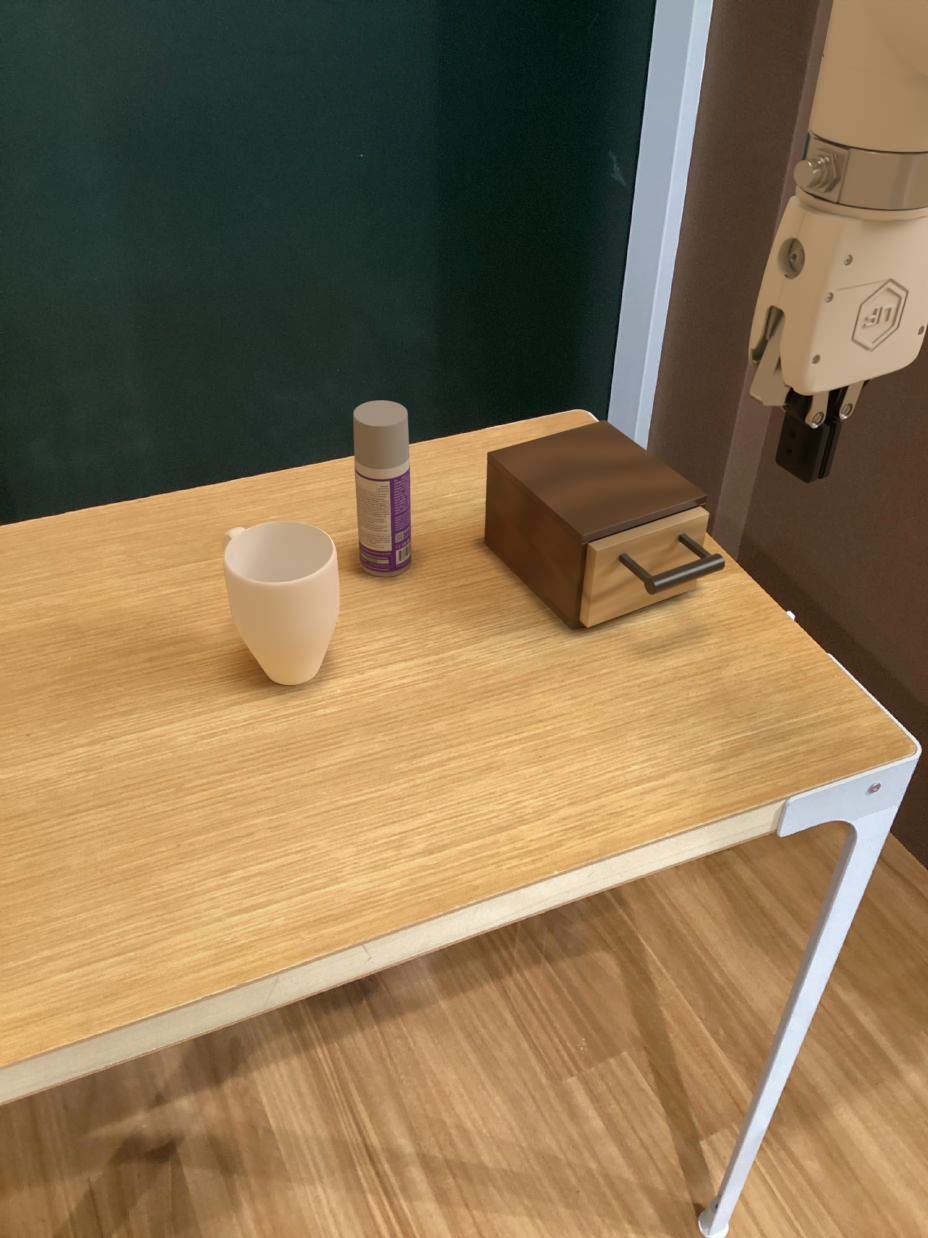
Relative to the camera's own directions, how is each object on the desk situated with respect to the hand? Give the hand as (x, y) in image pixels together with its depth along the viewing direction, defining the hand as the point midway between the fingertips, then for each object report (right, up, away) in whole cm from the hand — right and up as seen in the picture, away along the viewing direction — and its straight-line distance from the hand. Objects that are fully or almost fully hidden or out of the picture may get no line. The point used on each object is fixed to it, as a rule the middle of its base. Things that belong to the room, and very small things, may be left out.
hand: (801, 470), depth 68 cm
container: (-29, -4, +29) cm, 41 cm away
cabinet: (-11, -5, +29) cm, 31 cm away
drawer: (-8, -6, +25) cm, 27 cm away
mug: (-36, -13, +18) cm, 43 cm away
